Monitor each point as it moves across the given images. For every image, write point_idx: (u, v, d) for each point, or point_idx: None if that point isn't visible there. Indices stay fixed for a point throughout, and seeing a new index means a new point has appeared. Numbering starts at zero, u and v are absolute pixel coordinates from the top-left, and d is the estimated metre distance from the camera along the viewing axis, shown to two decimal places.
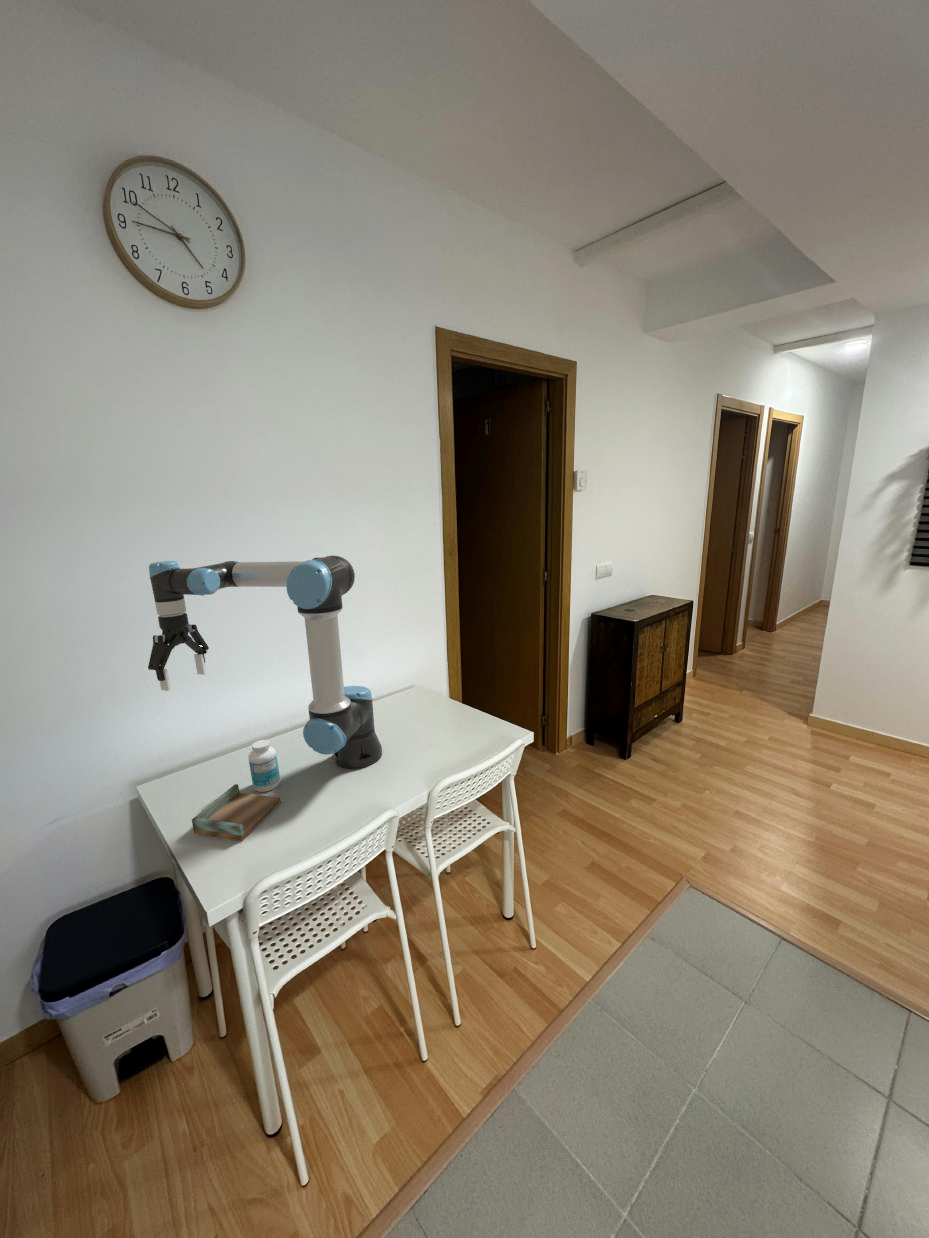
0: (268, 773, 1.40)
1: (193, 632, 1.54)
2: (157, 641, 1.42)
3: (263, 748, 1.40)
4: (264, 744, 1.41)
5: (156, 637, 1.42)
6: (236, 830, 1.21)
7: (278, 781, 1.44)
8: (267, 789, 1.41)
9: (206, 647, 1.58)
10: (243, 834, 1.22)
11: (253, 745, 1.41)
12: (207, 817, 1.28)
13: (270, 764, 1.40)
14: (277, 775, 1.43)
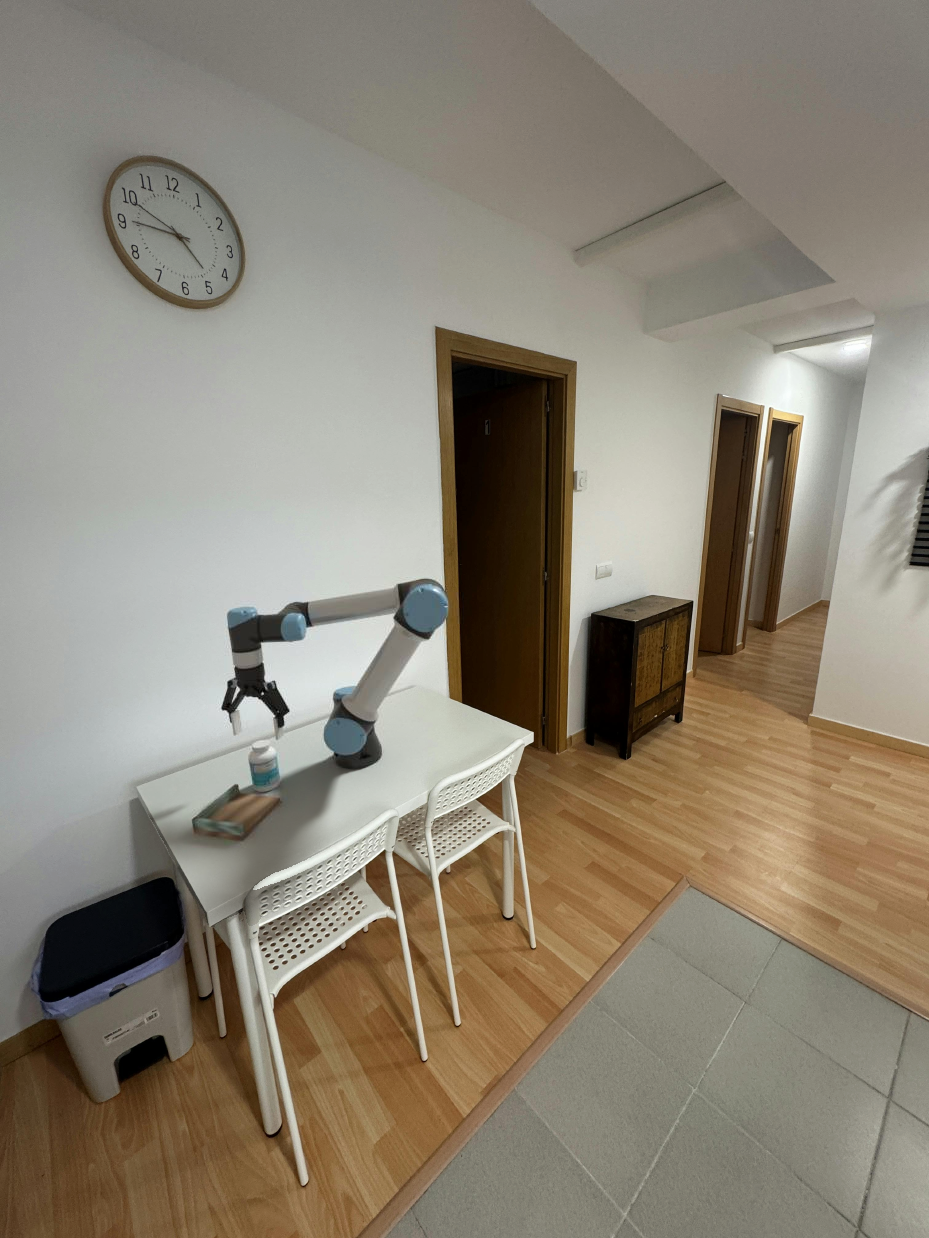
0: (268, 773, 1.40)
1: None
2: None
3: (263, 748, 1.40)
4: (264, 744, 1.41)
5: None
6: (236, 830, 1.21)
7: (278, 781, 1.44)
8: (267, 789, 1.41)
9: (281, 712, 1.35)
10: (243, 834, 1.22)
11: (253, 745, 1.41)
12: (207, 817, 1.28)
13: (270, 764, 1.40)
14: (277, 775, 1.43)
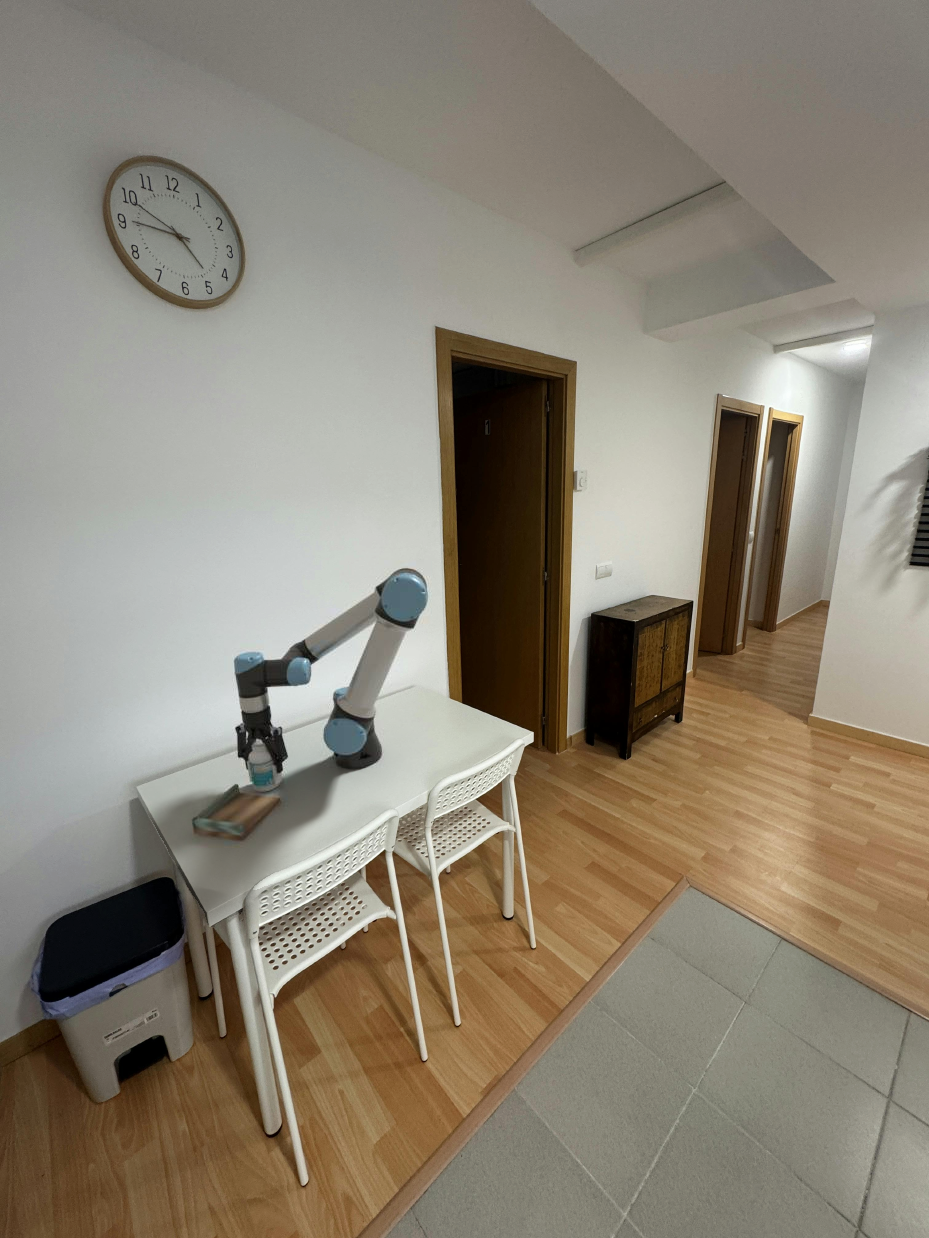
0: (268, 773, 1.40)
1: None
2: None
3: (263, 748, 1.40)
4: (264, 744, 1.41)
5: None
6: (236, 830, 1.21)
7: None
8: (267, 789, 1.41)
9: (280, 759, 1.40)
10: (243, 834, 1.22)
11: (253, 745, 1.41)
12: (207, 817, 1.28)
13: (270, 764, 1.40)
14: None
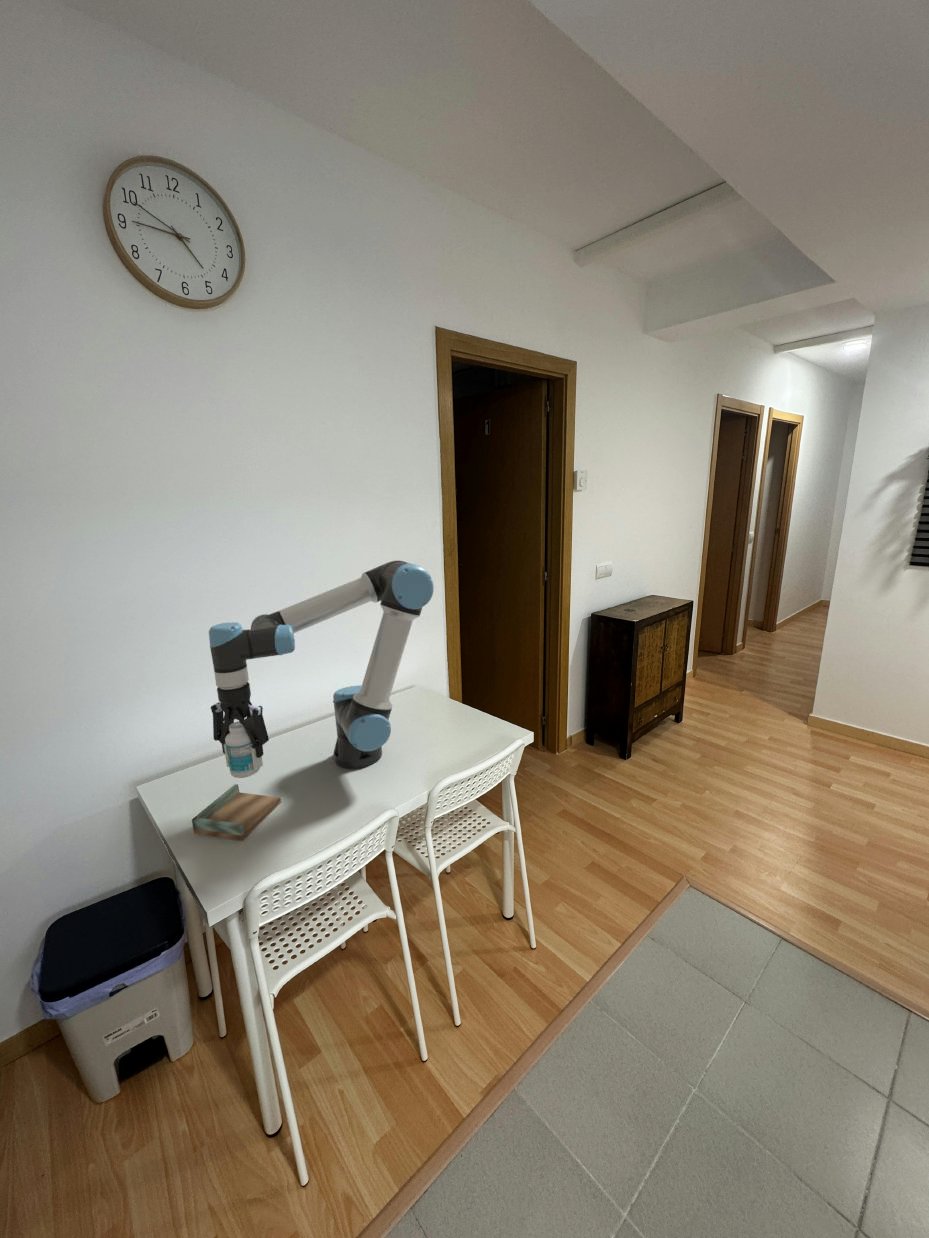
0: (247, 757, 1.27)
1: None
2: None
3: (241, 729, 1.26)
4: None
5: None
6: (236, 830, 1.21)
7: None
8: (245, 775, 1.28)
9: (260, 741, 1.26)
10: (243, 834, 1.22)
11: (230, 726, 1.27)
12: (207, 817, 1.28)
13: (249, 747, 1.27)
14: None
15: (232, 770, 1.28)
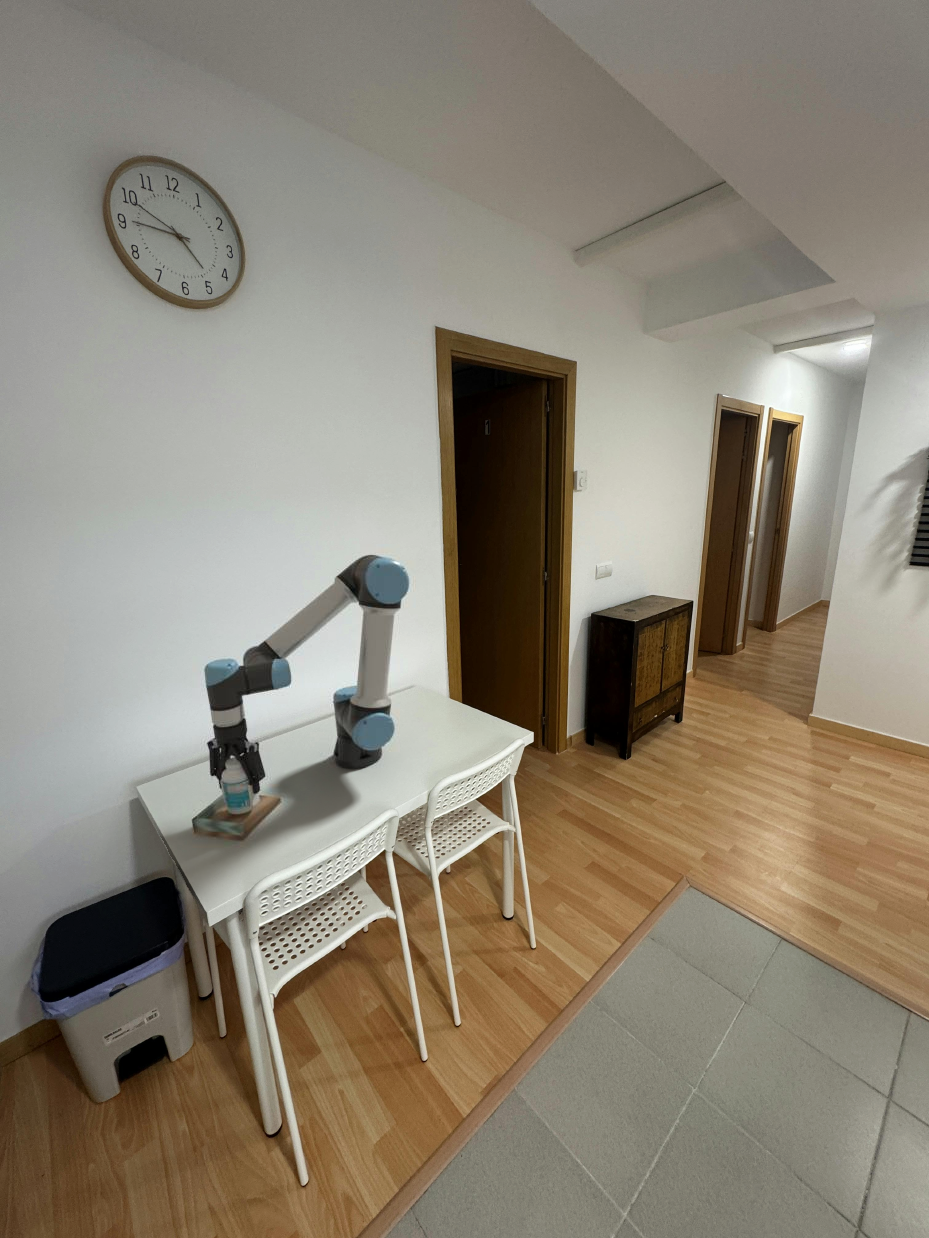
0: (244, 793, 1.26)
1: None
2: None
3: (237, 766, 1.25)
4: (239, 762, 1.26)
5: None
6: (236, 830, 1.21)
7: None
8: (242, 811, 1.27)
9: (256, 778, 1.25)
10: (243, 834, 1.22)
11: (227, 762, 1.26)
12: (207, 817, 1.28)
13: (245, 783, 1.26)
14: None
15: (229, 806, 1.27)
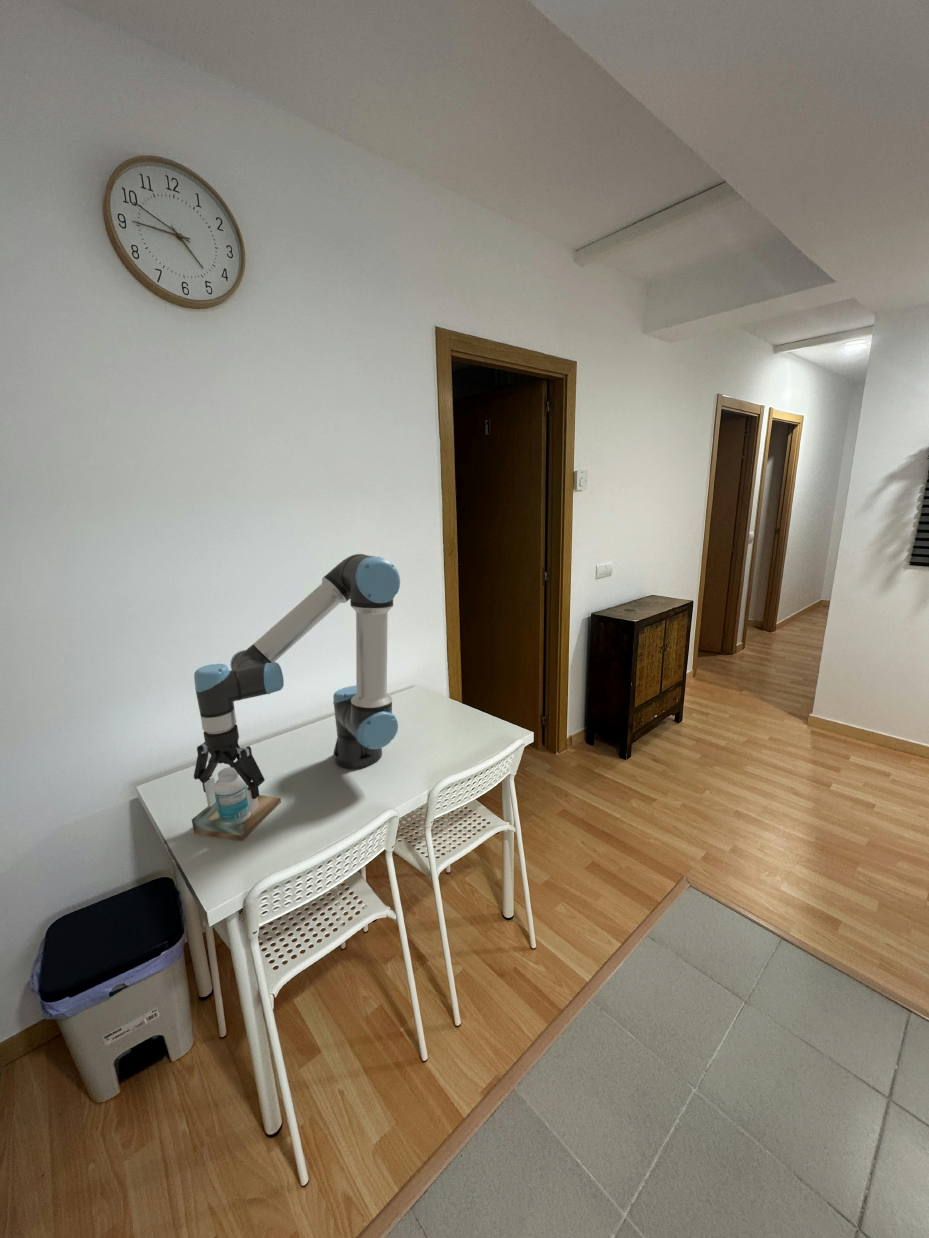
0: (237, 805, 1.23)
1: None
2: None
3: (230, 777, 1.23)
4: (232, 773, 1.24)
5: None
6: (236, 830, 1.21)
7: (248, 813, 1.27)
8: None
9: (255, 783, 1.21)
10: (243, 834, 1.22)
11: (219, 773, 1.23)
12: (207, 817, 1.28)
13: (238, 795, 1.23)
14: (247, 807, 1.26)
15: (221, 818, 1.24)
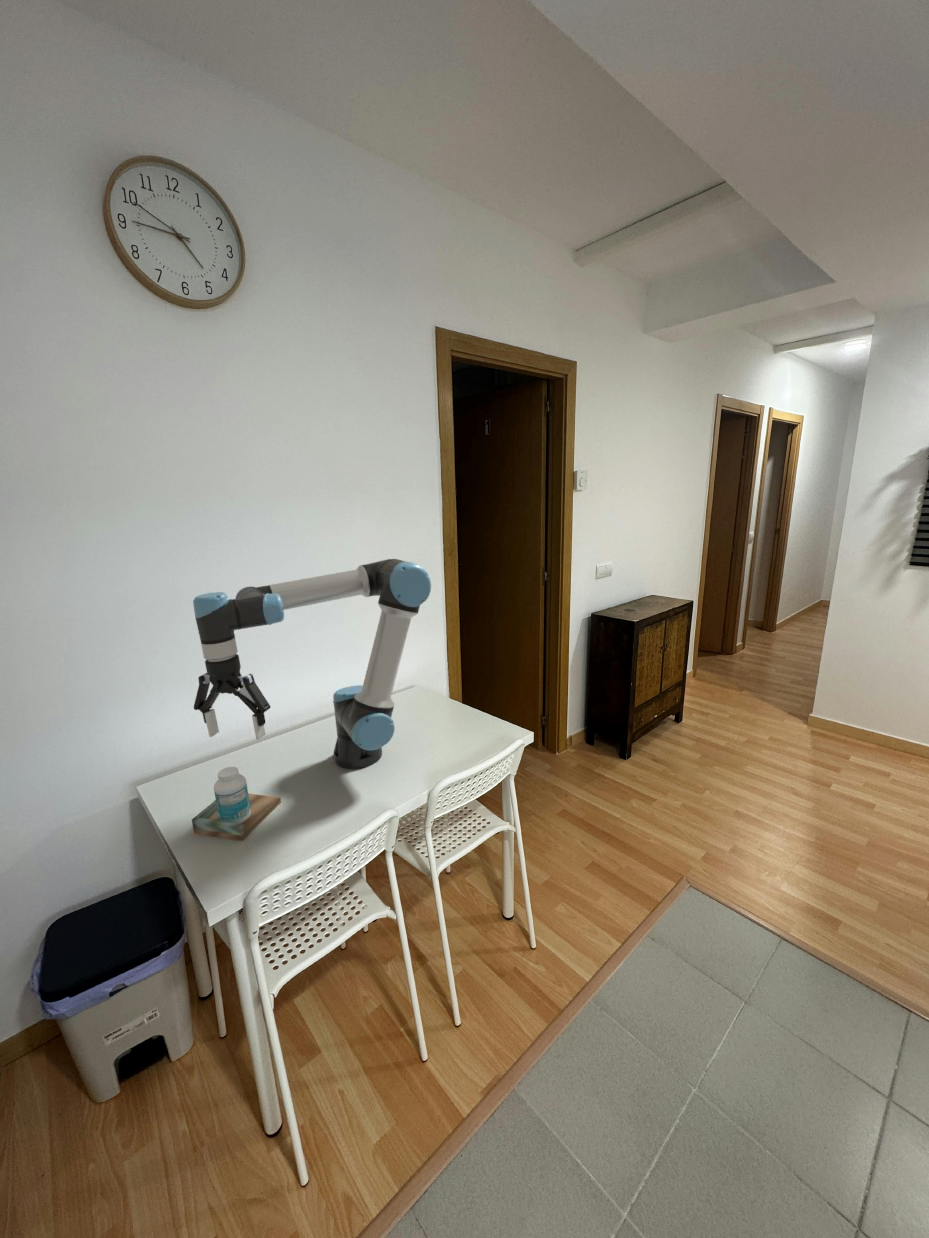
0: (237, 805, 1.23)
1: None
2: None
3: (230, 777, 1.23)
4: (232, 772, 1.24)
5: None
6: (236, 830, 1.21)
7: (248, 813, 1.27)
8: None
9: (261, 709, 1.21)
10: (243, 834, 1.22)
11: (219, 773, 1.24)
12: (207, 817, 1.28)
13: (238, 795, 1.23)
14: (247, 807, 1.26)
15: (221, 818, 1.24)
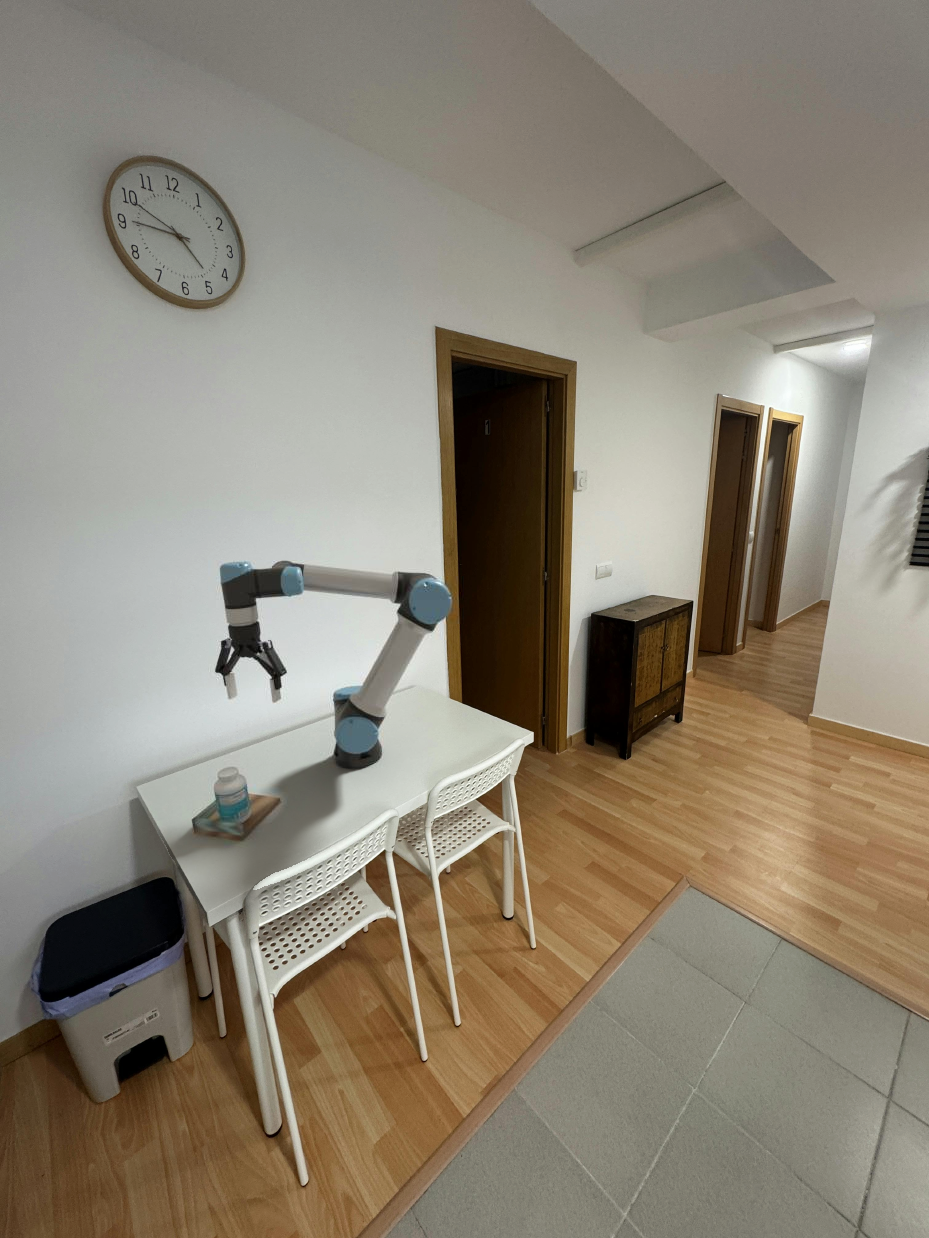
0: (236, 805, 1.23)
1: None
2: None
3: (230, 777, 1.23)
4: (232, 772, 1.24)
5: None
6: (236, 830, 1.21)
7: (248, 813, 1.27)
8: None
9: (278, 673, 1.28)
10: (243, 834, 1.22)
11: (219, 773, 1.23)
12: (207, 817, 1.28)
13: (238, 795, 1.23)
14: (247, 807, 1.26)
15: (221, 818, 1.24)
